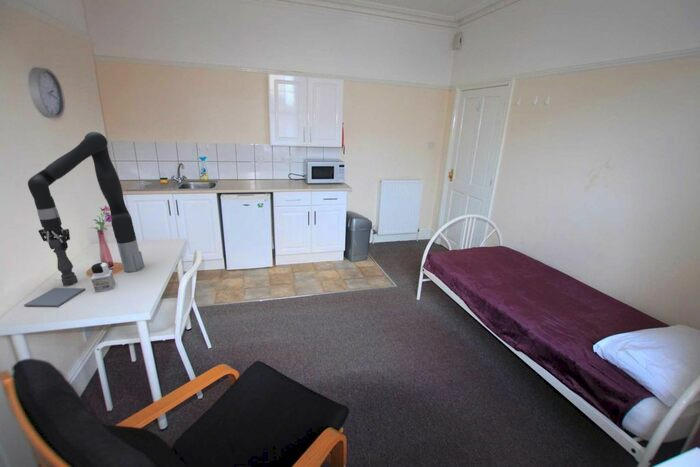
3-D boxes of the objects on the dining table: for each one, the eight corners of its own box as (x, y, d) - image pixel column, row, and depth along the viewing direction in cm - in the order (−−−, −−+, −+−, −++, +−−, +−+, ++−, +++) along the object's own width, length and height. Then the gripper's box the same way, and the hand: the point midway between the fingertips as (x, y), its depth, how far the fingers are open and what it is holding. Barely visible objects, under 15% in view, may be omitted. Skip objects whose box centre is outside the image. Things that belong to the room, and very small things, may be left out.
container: (94, 292, 165) (87, 268, 161) (97, 285, 172) (90, 262, 168) (113, 288, 169) (107, 265, 164) (115, 282, 175) (109, 260, 171)
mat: (85, 290, 168) (85, 288, 167) (58, 307, 153) (57, 305, 152) (55, 289, 168) (54, 287, 168) (24, 306, 153) (24, 304, 153)
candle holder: (69, 286, 172) (54, 241, 163) (59, 285, 173) (44, 240, 164) (80, 280, 177) (67, 236, 169) (71, 279, 178) (57, 236, 170)
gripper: (69, 214, 166) (79, 246, 172) (42, 214, 167) (52, 245, 172) (56, 219, 159) (66, 251, 165) (27, 218, 160) (39, 251, 165)
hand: (59, 248), depth 169 cm, fingers closed on candle holder, 5 cm apart
